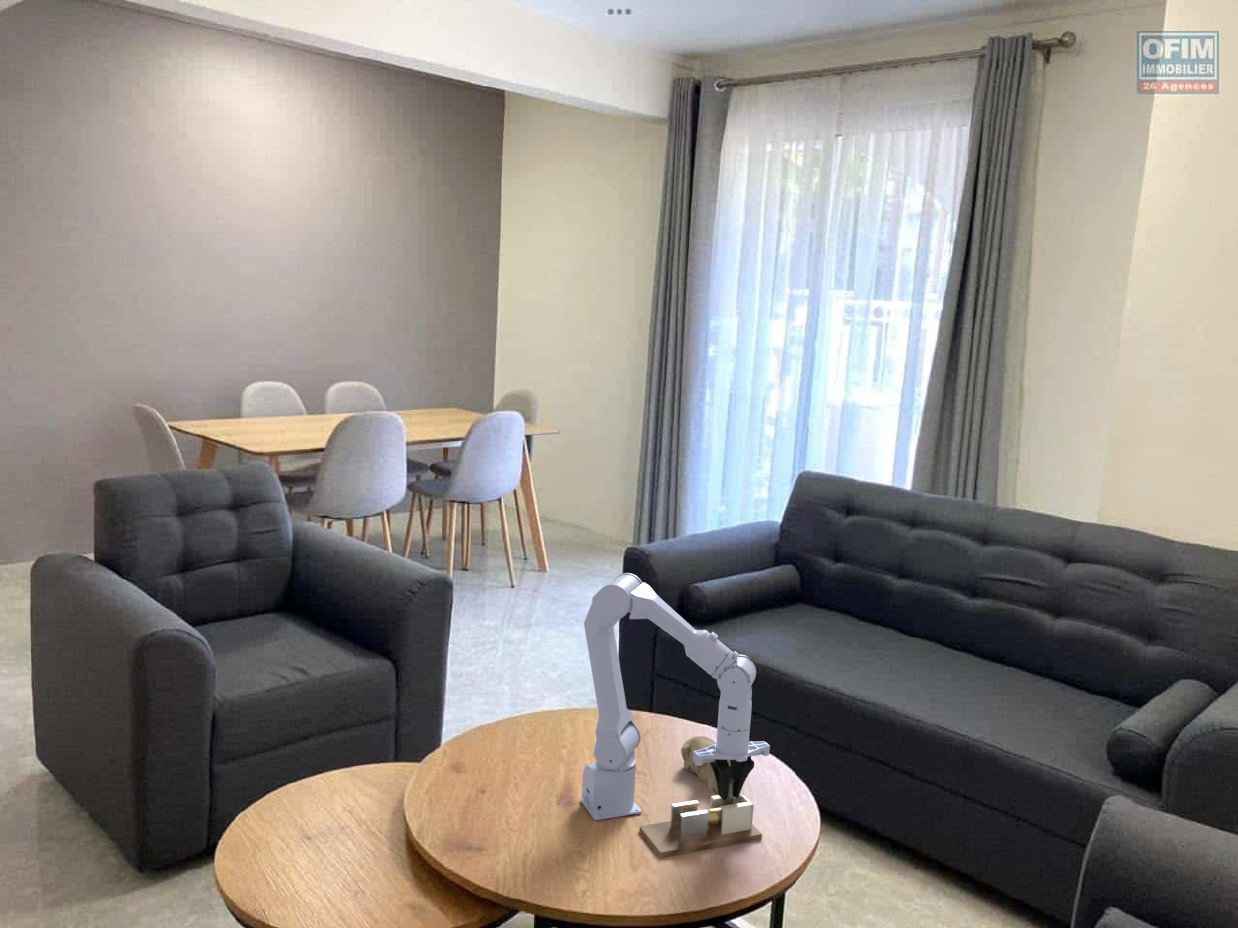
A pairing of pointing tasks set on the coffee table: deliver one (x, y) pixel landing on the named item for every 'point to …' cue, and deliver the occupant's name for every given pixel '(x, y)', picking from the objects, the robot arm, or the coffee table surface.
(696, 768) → the sculpture
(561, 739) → the coffee table surface
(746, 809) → the socket block
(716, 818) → the brass bolt
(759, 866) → the coffee table surface
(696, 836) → the guide board
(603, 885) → the coffee table surface
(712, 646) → the robot arm
